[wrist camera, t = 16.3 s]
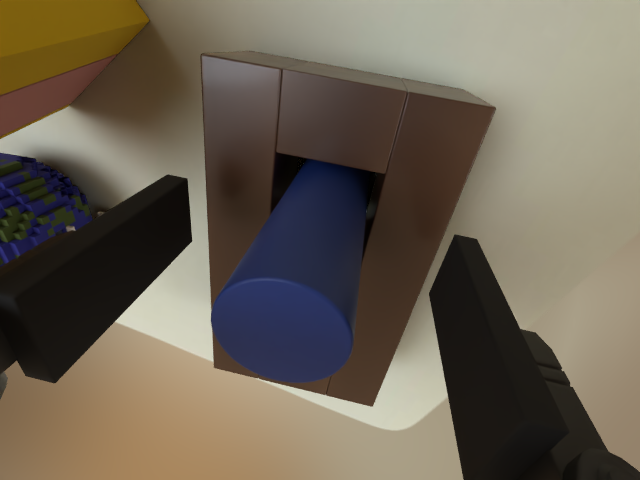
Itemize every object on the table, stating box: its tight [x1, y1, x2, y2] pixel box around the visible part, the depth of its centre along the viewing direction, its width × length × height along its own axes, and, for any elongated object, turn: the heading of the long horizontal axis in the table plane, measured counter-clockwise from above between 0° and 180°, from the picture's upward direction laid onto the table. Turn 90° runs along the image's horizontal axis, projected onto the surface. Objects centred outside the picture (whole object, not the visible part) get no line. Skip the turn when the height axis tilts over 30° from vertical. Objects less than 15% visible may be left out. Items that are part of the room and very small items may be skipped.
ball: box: [0, 153, 105, 267], centre depth 19 cm, size 8×8×8 cm
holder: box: [201, 51, 496, 406], centre depth 18 cm, size 10×18×5 cm, turn 171°
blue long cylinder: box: [211, 159, 370, 383], centre depth 13 cm, size 4×4×12 cm
